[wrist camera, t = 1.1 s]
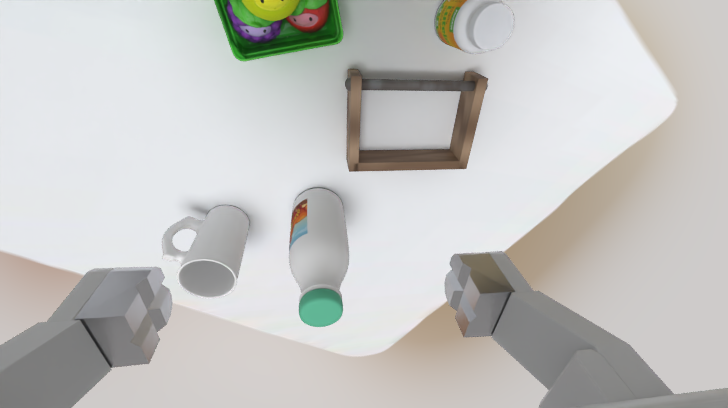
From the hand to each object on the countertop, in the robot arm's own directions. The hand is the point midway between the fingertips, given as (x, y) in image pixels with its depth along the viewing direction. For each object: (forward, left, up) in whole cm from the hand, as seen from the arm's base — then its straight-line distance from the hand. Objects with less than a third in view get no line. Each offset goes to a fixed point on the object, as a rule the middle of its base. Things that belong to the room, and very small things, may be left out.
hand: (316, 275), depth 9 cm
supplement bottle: (-5, +17, -35) cm, 39 cm away
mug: (+22, -15, -35) cm, 44 cm away
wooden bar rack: (+7, +12, -35) cm, 38 cm away
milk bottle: (+21, 0, -35) cm, 41 cm away
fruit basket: (-6, -3, -36) cm, 36 cm away
